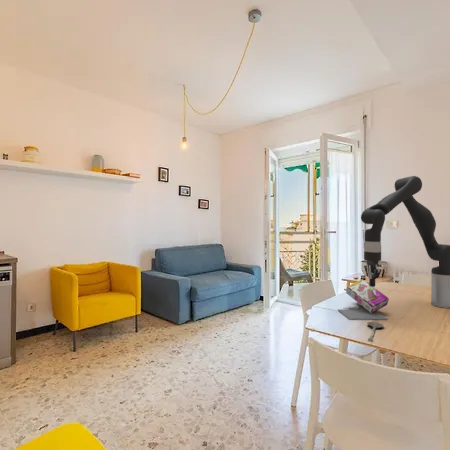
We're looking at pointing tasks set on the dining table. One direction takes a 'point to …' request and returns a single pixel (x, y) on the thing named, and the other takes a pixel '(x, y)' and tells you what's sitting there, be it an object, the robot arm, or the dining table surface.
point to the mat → (362, 315)
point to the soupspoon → (374, 325)
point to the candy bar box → (367, 296)
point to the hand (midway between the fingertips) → (372, 286)
